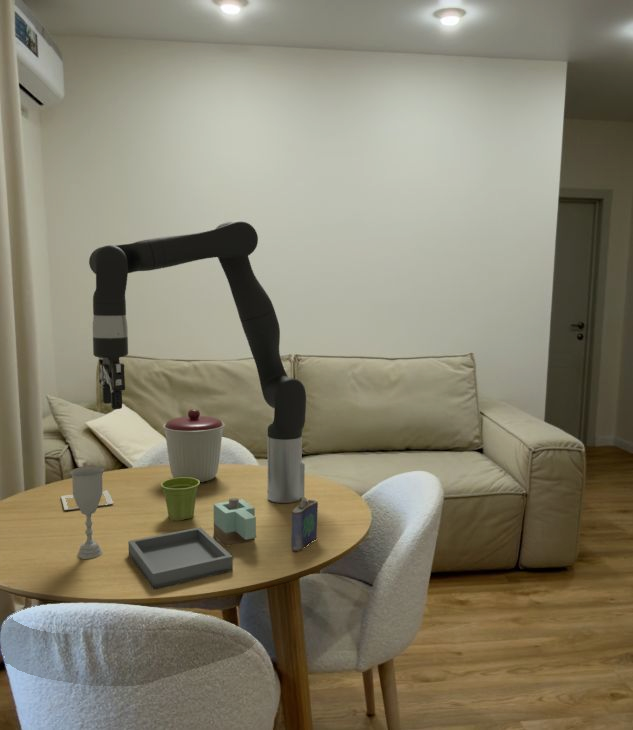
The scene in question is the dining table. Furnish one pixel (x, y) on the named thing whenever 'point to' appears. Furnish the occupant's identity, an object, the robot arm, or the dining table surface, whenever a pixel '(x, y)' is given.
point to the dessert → (106, 494)
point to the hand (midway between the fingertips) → (112, 405)
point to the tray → (179, 557)
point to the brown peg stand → (230, 537)
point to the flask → (304, 524)
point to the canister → (194, 445)
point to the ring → (236, 519)
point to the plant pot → (180, 497)
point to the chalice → (88, 503)
